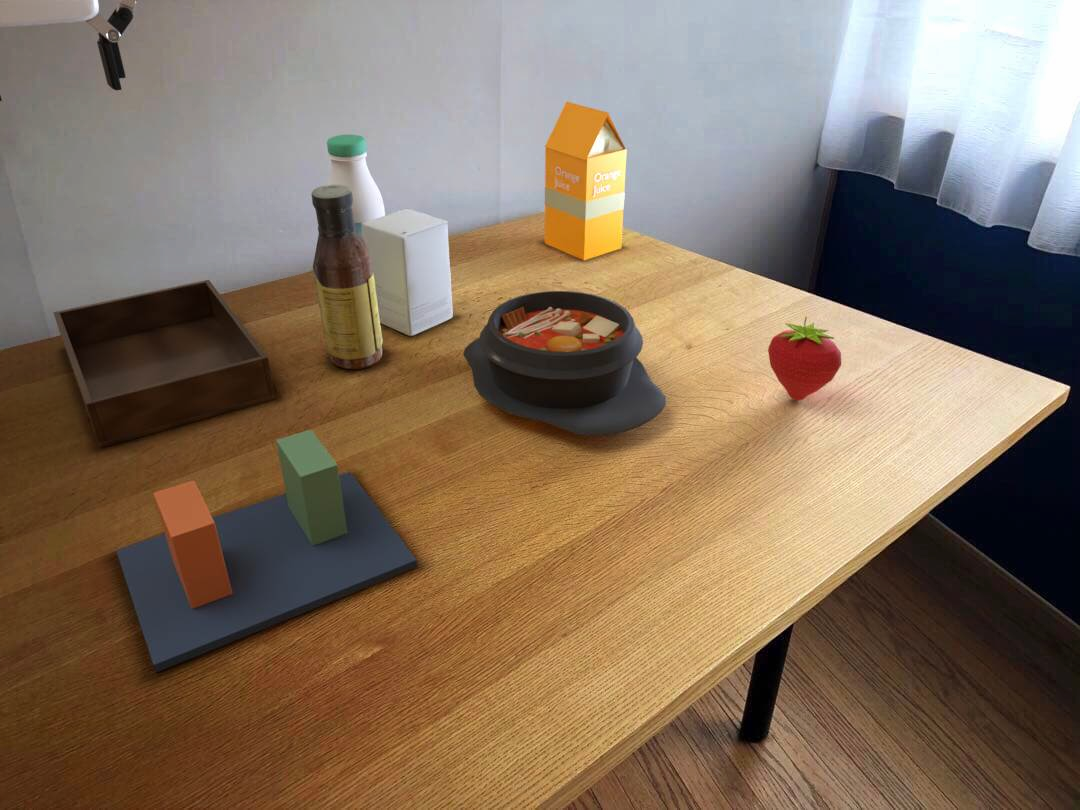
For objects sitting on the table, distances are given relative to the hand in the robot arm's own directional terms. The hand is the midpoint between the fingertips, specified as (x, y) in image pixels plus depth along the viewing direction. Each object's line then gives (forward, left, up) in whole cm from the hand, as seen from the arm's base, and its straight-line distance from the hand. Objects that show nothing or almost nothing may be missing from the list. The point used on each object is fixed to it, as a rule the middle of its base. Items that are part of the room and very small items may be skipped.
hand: (57, 93), depth 77 cm
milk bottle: (+30, +10, -31) cm, 44 cm away
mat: (+3, -35, -30) cm, 46 cm away
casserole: (+38, -25, -31) cm, 55 cm away
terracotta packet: (-2, -35, -30) cm, 46 cm away
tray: (+3, +1, -30) cm, 30 cm away
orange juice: (+64, +8, -31) cm, 71 cm away
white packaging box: (+32, -1, -31) cm, 44 cm away
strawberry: (+58, -40, -31) cm, 77 cm away
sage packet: (+8, -33, -30) cm, 45 cm away
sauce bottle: (+22, -7, -31) cm, 38 cm away
